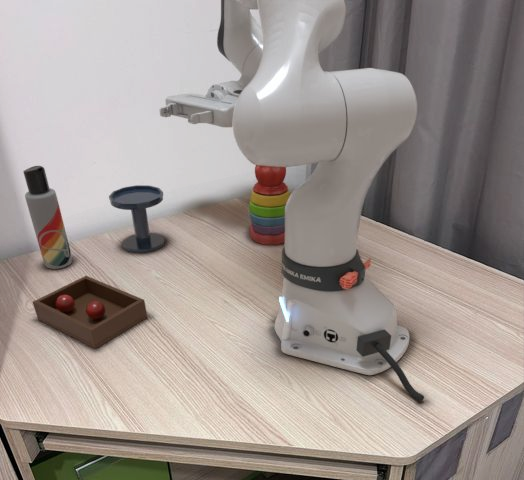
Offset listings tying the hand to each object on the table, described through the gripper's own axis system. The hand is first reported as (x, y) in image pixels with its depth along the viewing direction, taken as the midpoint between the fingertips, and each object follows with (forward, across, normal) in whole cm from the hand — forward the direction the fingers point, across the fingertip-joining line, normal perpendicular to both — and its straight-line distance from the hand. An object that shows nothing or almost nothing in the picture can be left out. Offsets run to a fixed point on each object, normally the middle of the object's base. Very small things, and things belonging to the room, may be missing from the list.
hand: (175, 116), depth 112 cm
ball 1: (+39, +14, +22) cm, 47 cm away
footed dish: (+12, 0, +25) cm, 28 cm away
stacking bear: (-10, +18, +25) cm, 32 cm away
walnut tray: (+37, +18, +25) cm, 48 cm away
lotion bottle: (+30, -6, +25) cm, 39 cm away
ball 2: (+37, +20, +22) cm, 47 cm away
